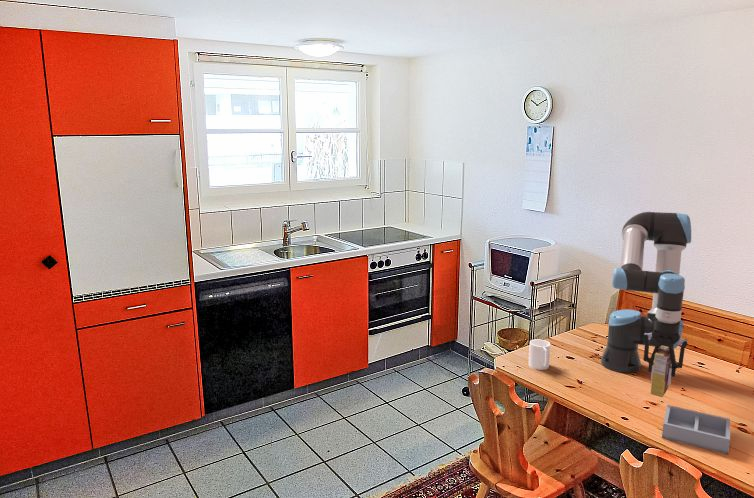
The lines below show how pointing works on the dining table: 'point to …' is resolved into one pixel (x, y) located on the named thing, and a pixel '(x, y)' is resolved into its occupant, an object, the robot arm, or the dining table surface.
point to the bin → (697, 429)
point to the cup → (539, 354)
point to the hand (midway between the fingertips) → (660, 382)
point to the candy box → (661, 371)
